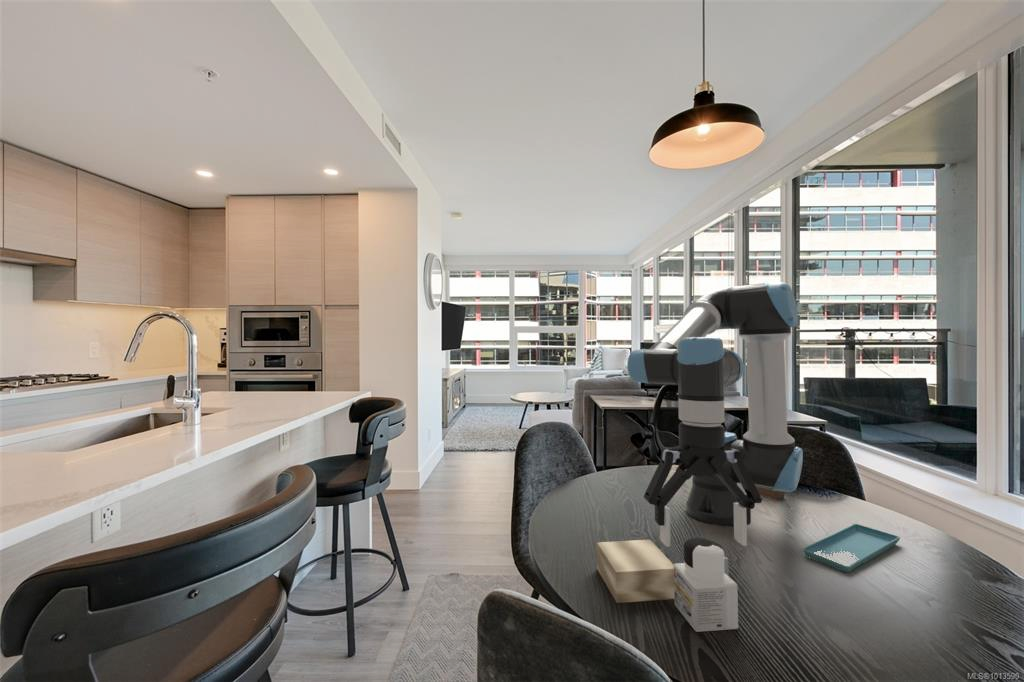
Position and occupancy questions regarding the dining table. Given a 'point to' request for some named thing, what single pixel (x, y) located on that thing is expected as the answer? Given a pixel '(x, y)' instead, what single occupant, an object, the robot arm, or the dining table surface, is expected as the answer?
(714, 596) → the container
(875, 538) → the teal serving tray
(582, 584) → the dining table surface
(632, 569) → the maple block
